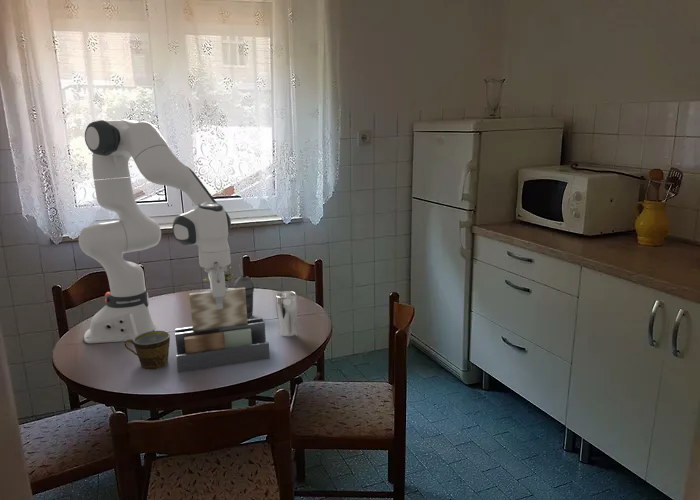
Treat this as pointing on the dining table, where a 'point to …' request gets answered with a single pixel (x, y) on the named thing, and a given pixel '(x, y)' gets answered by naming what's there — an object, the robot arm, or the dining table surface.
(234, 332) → the sage offcut
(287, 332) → the silver metal cylinder
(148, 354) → the ceramic cup
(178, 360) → the offcut rack
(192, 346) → the walnut offcut
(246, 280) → the beverage cup
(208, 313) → the beige brown zigzag panel
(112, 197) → the robot arm
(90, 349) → the dining table surface
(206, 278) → the house plant
